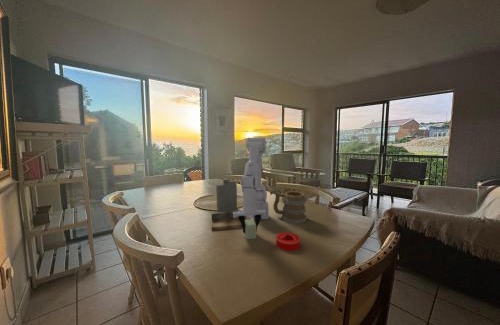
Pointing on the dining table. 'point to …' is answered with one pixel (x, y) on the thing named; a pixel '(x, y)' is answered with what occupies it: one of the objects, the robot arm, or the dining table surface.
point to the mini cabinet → (250, 229)
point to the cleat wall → (225, 220)
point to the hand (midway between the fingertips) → (249, 231)
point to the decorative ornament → (288, 241)
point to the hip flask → (226, 196)
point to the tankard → (291, 206)
